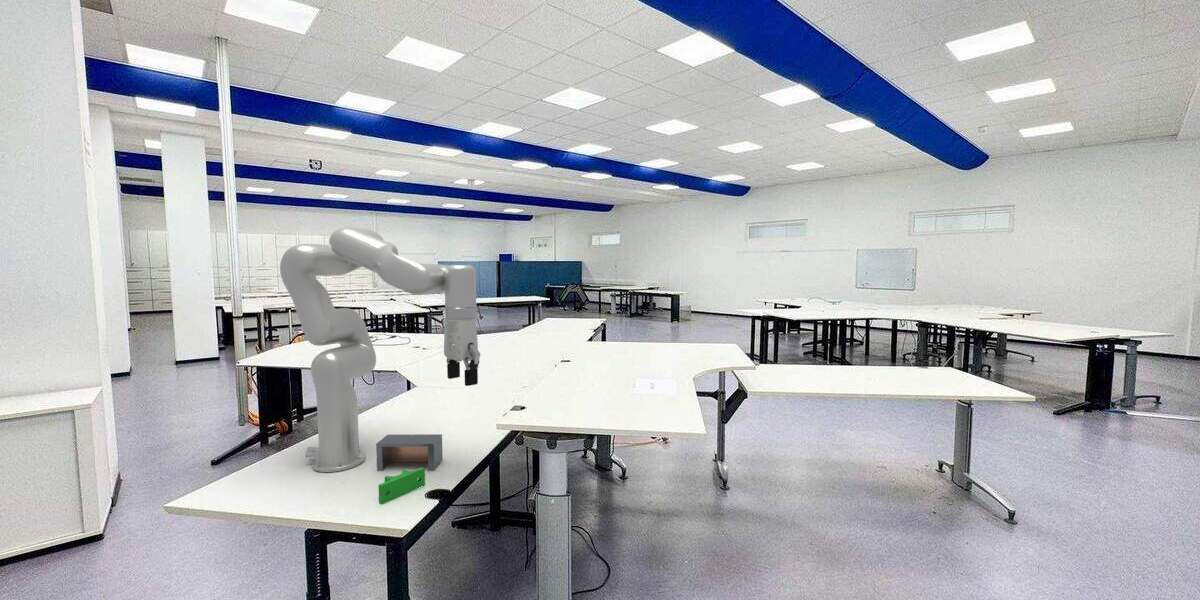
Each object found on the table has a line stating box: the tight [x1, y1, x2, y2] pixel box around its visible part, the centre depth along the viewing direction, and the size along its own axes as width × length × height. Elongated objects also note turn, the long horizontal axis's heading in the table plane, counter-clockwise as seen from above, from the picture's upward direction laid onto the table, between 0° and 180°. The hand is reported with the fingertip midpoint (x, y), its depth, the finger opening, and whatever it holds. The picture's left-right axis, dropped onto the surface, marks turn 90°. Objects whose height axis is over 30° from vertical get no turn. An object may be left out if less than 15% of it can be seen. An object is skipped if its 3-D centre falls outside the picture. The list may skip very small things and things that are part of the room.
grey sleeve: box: [375, 433, 444, 472], centre depth 124 cm, size 15×7×7 cm, turn 91°
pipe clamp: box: [377, 467, 426, 505], centre depth 109 cm, size 11×4×5 cm, turn 145°
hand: (462, 381), depth 117 cm, fingers open, 9 cm apart
